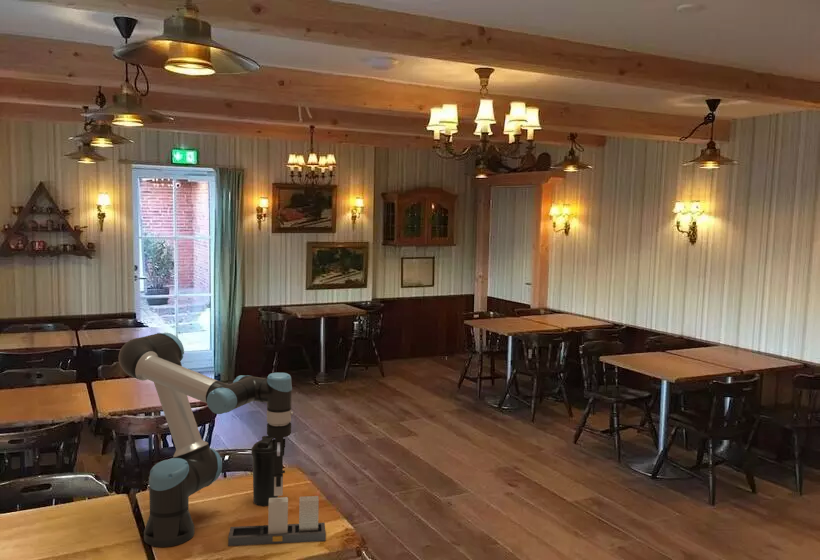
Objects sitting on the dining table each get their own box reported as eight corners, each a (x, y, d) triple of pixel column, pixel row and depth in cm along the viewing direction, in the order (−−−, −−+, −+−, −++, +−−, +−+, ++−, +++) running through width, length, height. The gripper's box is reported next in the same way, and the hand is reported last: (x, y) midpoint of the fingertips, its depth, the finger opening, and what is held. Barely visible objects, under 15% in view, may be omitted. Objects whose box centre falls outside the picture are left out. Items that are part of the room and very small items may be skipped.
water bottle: (283, 496, 245) (284, 435, 242) (275, 508, 234) (275, 444, 232) (256, 494, 246) (257, 433, 243) (247, 506, 235) (247, 442, 233)
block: (268, 539, 211) (268, 502, 210) (268, 533, 215) (268, 497, 213) (287, 538, 212) (287, 501, 211) (287, 532, 216) (288, 497, 214)
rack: (228, 546, 207) (228, 507, 206) (230, 534, 214) (230, 496, 213) (325, 541, 212) (326, 503, 211) (324, 530, 220) (325, 493, 218)
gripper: (291, 428, 204) (290, 503, 206) (291, 415, 217) (290, 485, 219) (266, 429, 203) (265, 504, 205) (267, 416, 215) (267, 486, 218)
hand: (278, 494), depth 212 cm, fingers closed
